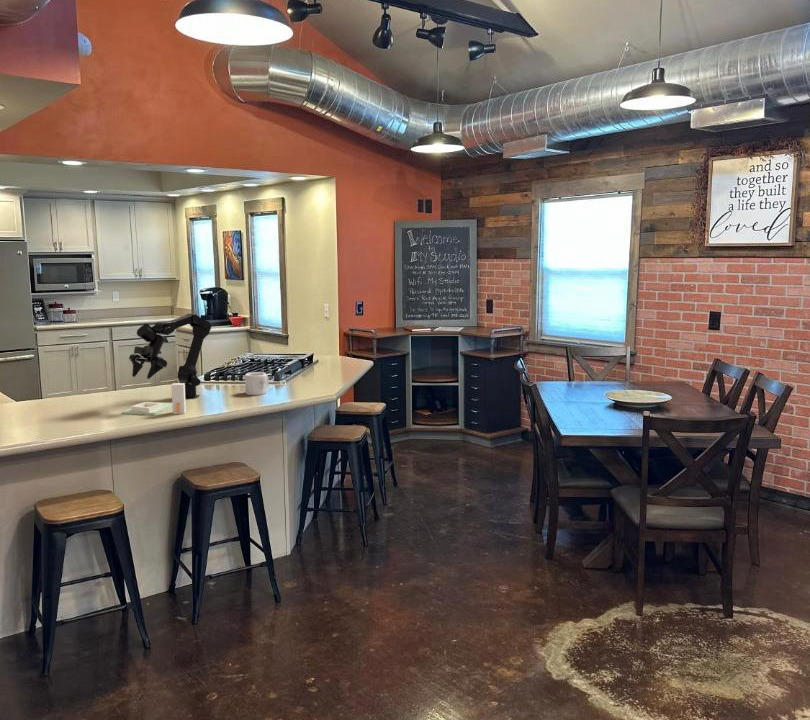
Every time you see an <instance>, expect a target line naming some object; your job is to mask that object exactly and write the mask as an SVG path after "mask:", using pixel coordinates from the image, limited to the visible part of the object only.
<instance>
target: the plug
mask: <svg viewBox="0 0 810 720" xmlns="http://www.w3.org/2000/svg"><path fill="white" fill-rule="evenodd" d="M171 403H172V407H171V409H172V415H180V414H181V415H183V414H186V412H187V408H186V406H187V405H186V403H187V402H186V398H185V383H180V382H177V383H176V382H173V383H172V384H171Z"/></svg>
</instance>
